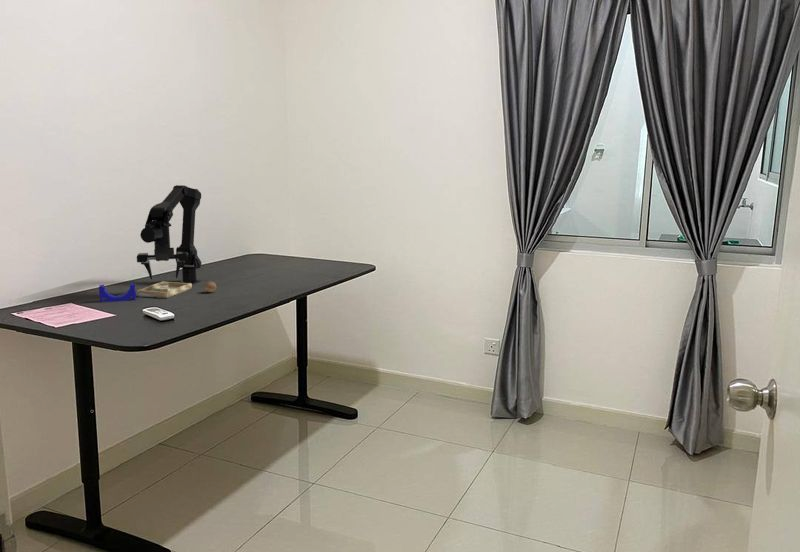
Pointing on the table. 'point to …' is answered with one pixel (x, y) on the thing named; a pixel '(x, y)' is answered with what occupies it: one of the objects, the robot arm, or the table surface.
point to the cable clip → (122, 297)
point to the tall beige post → (164, 287)
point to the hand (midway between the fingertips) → (164, 278)
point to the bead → (210, 286)
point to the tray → (155, 292)
